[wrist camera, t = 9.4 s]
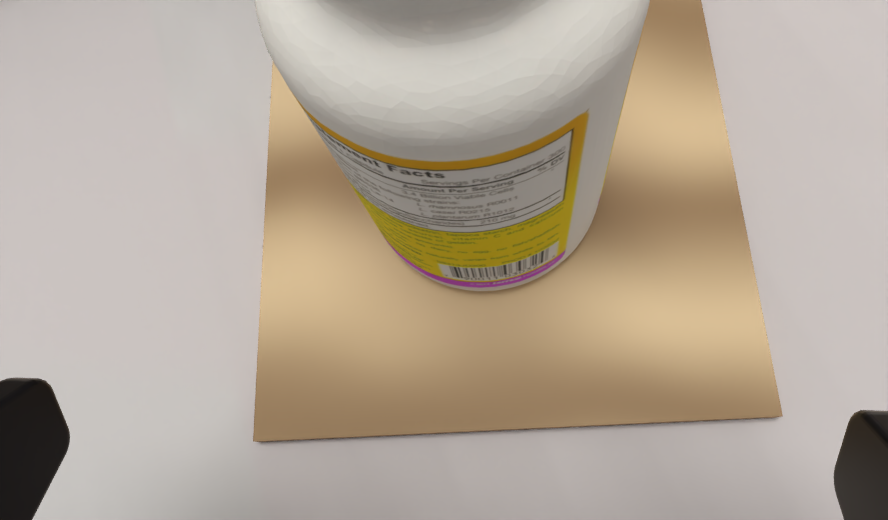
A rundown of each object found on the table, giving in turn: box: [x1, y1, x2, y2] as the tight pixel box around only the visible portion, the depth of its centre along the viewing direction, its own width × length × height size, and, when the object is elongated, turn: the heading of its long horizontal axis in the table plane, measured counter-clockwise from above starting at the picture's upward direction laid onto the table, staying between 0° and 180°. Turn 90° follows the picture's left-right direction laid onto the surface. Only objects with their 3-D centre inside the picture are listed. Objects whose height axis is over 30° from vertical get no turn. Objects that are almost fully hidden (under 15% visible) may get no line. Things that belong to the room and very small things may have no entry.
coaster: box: [253, 0, 783, 442], centre depth 20 cm, size 14×14×1 cm
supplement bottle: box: [255, 0, 650, 291], centre depth 14 cm, size 7×7×13 cm
